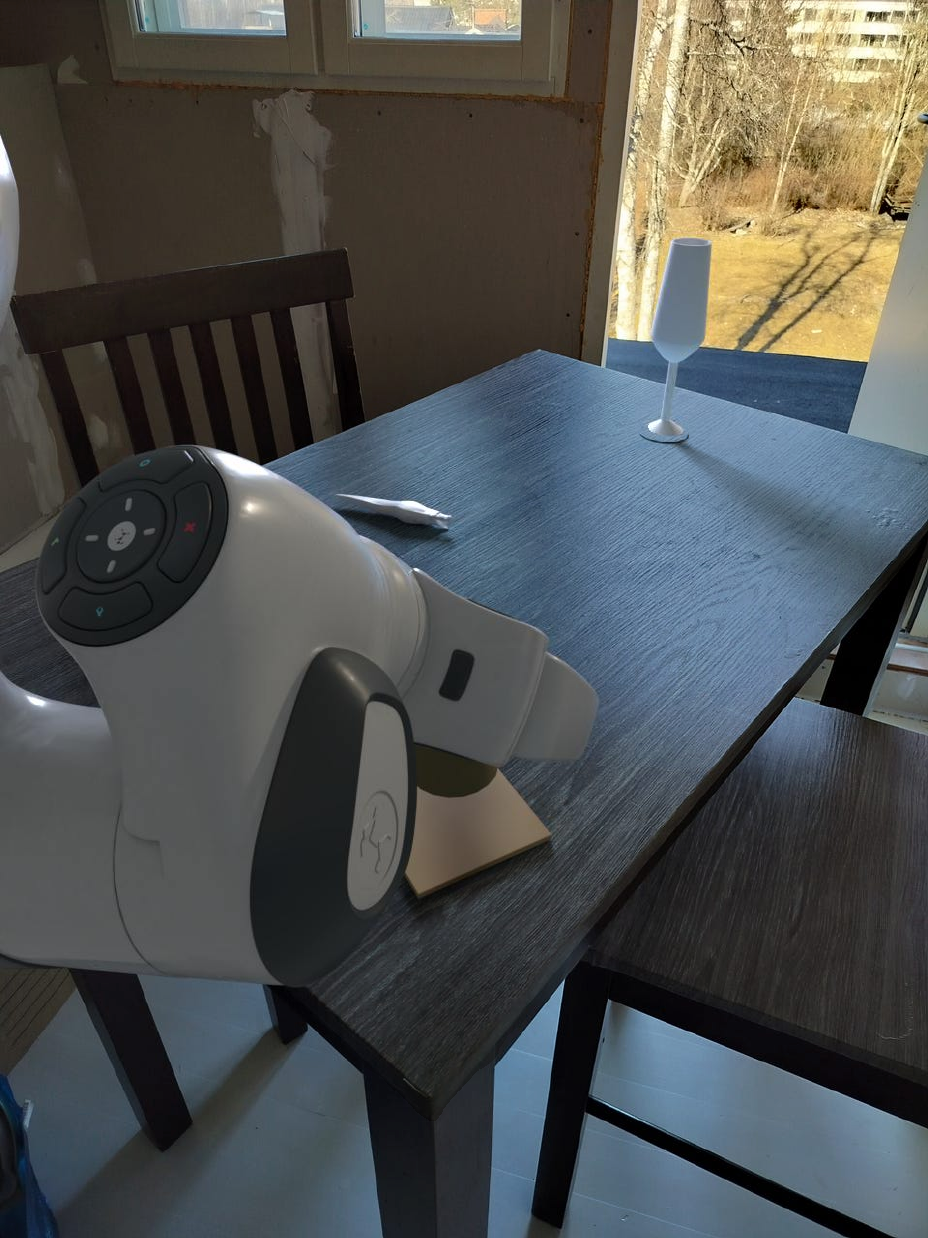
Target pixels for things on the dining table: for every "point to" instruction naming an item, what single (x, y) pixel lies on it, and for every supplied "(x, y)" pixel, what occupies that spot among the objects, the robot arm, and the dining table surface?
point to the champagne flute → (680, 315)
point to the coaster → (469, 834)
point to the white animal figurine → (400, 510)
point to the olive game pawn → (450, 774)
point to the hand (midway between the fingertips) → (456, 688)
